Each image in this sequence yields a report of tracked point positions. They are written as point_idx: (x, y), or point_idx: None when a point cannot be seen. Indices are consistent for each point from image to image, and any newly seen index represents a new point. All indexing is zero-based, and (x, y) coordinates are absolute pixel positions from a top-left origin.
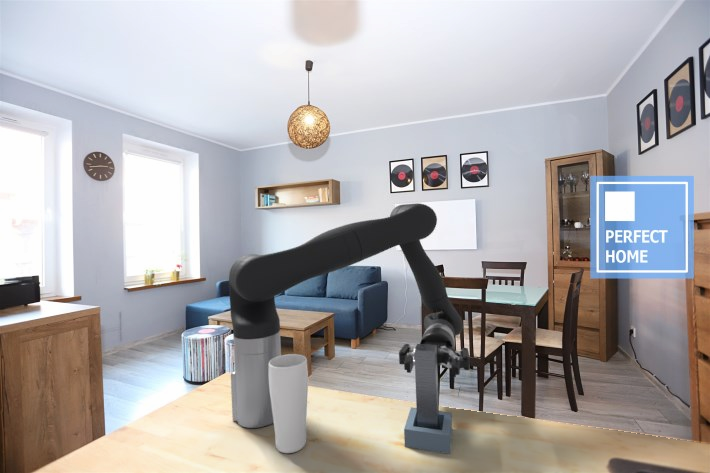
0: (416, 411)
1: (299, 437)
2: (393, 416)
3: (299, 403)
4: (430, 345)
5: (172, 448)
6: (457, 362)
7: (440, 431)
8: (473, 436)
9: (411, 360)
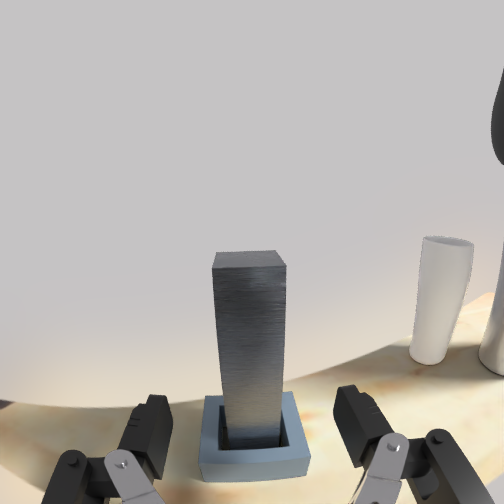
0: (290, 446)
1: (412, 338)
2: (358, 478)
3: (418, 293)
4: (234, 265)
5: (481, 313)
6: (129, 443)
7: (222, 402)
8: None
9: (351, 414)
